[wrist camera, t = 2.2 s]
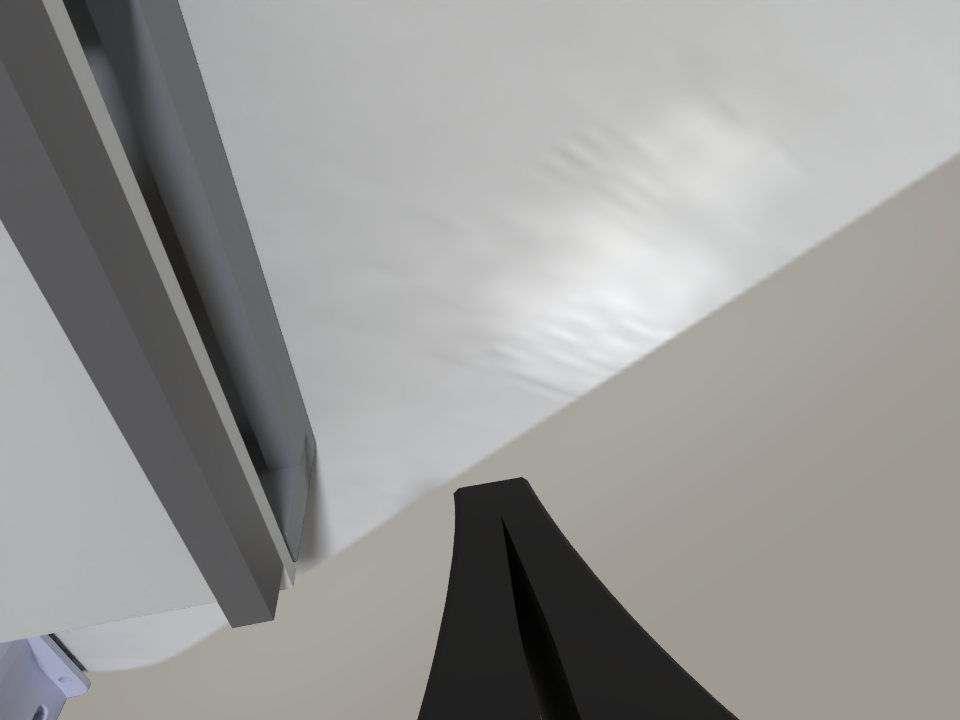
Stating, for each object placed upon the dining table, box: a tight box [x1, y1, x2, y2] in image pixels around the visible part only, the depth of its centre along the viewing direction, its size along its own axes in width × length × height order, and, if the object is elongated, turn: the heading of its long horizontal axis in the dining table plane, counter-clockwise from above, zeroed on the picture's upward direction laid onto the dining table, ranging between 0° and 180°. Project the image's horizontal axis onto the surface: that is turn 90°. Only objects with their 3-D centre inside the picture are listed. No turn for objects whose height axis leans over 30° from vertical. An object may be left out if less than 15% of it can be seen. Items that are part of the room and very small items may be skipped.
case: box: [62, 0, 316, 562], centre depth 13 cm, size 16×11×6 cm
